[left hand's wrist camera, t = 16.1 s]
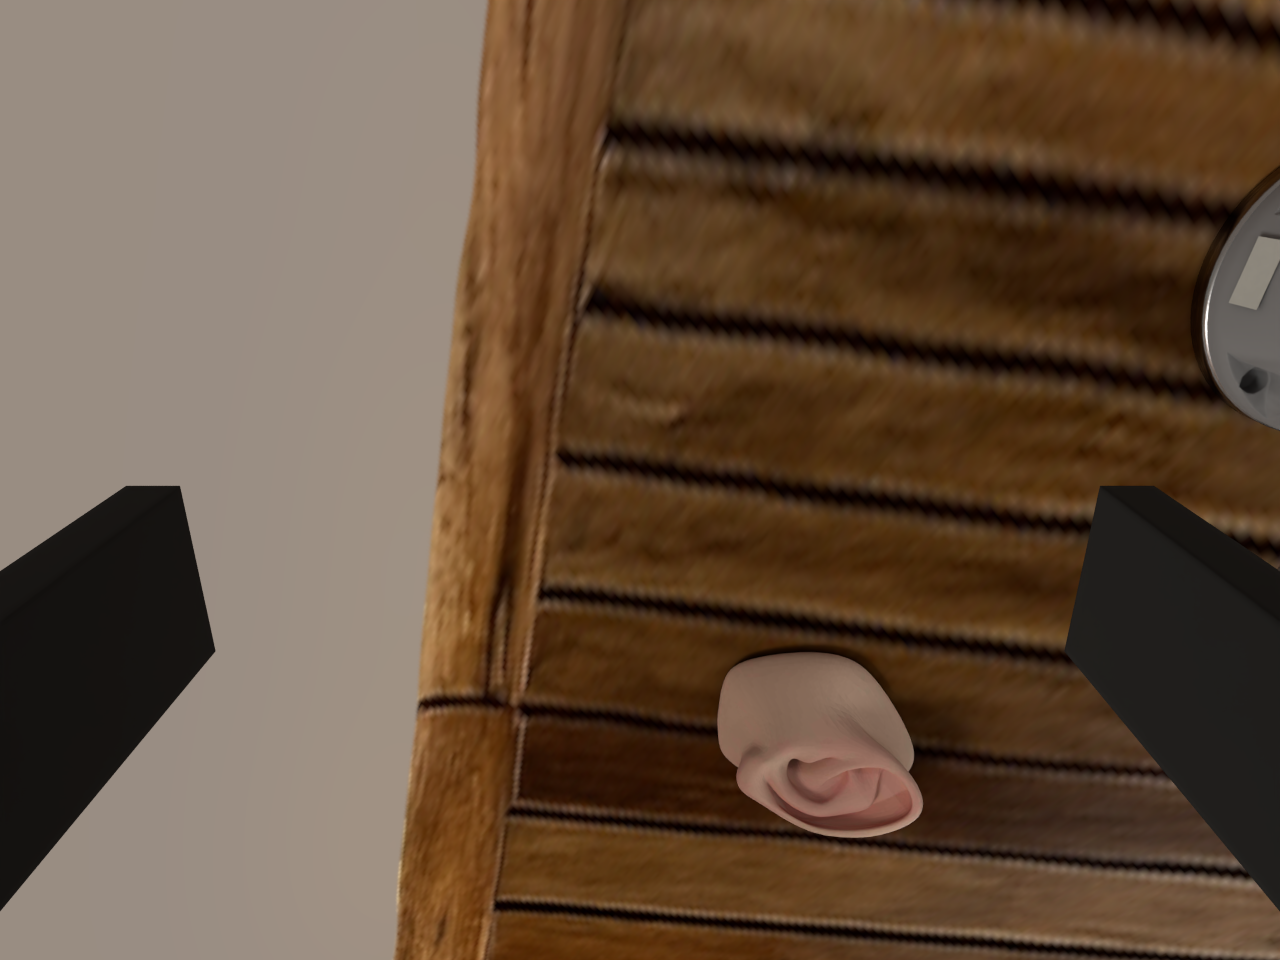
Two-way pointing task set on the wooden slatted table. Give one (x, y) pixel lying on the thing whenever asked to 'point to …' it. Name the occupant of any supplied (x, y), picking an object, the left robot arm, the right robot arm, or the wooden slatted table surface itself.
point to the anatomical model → (818, 744)
